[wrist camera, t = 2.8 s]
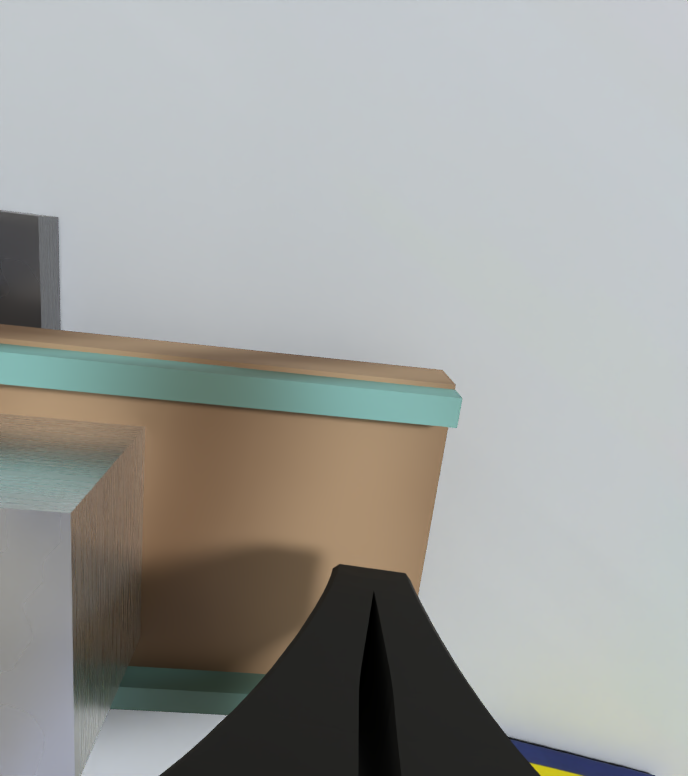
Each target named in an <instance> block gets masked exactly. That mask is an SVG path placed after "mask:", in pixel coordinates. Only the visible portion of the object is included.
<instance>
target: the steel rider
mask: <svg viewBox="0 0 688 776" xmlns="http://www.w3.org/2000/svg"><path fill="white" fill-rule="evenodd" d="M144 453H145V427H143V426H132V425H122V424H111V423H100V422H89V421H78V420H67V419H56V418H46V417H35V416H24V415H13V414H2V413H0V776H81V774H82V772H83V769H84V767H85V765H86V762H87V760H88V758H89V755H90V753H91V751H92V748H93V746H94V744H95V741H96V739H97V737H98V735H99V732H100V730H101V728H102V725H103V723H104V721H105V718H106V716H107V714H108V711H109V709H110V707H111V704H112V702H113V700H114V697H115V695H116V693H117V690H118V688H119V686H120V683H121V681H122V679H123V676H124V674H125V672H126V669H127V667H128V665H129V662H130V660H131V658H132V655H133V653H134V651H135V648H136V646H137V644H138V641H139V639H140V628H141V584H142V540H143V497H144Z"/></svg>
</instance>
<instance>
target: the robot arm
mask: <svg viewBox="0 0 688 776" xmlns="http://www.w3.org/2000/svg"><path fill="white" fill-rule="evenodd" d="M160 776H541V775H540V774H539V773H538V772H537V771H536V770H535V769H534V767H533V766H532V765H531V764H530V763H529V762H528V761H527V759H526V758H525V757H524V756H523V755H522V754H521V753H520V751H519V750H518V749H517V748H516V746H515V745H514V744H513V743H512V741H511V740H510V739H509V738H508V736H507V735H506V734H505V733H504V731H503V730H502V729H501V728H500V726H499V725H498V724H497V722H496V721H495V720H494V718H493V717H492V716H491V714H490V713H489V712H488V710H487V709H486V708H485V706H484V705H483V703H482V702H481V701H480V699H479V698H478V696H477V695H476V693H475V692H474V690H473V689H472V688H471V686H470V685H469V683H468V682H467V680H466V679H465V677H464V676H463V674H462V673H461V671H460V670H459V668H458V666H457V665H456V663H455V662H454V660H453V658H452V657H451V655H450V653H449V652H448V650H447V648H446V647H445V645H444V643H443V642H442V640H441V638H440V637H439V635H438V633H437V632H436V630H435V628H434V626H433V624H432V623H431V621H430V619H429V617H428V615H427V613H426V611H425V609H424V607H423V606H422V604H421V602H420V600H419V597H418V595H417V593H416V591H415V589H414V587H413V585H412V582H411V580H410V579H409V577H408V576H407V575H406V573H401V572H394V571H387V570H380V569H373V568H366V567H358V566H351V565H344V564H339V565H337V566H336V567H334V568H333V569H332V573H331V576H330V579H329V581H328V583H327V585H326V588H325V590H324V592H323V593H322V595H321V597H320V599H319V601H318V602H317V604H316V606H315V608H314V609H313V611H312V612H311V614H310V615H309V617H308V618H307V620H306V621H305V623H304V625H303V626H302V628H301V629H300V631H299V632H298V634H297V635H296V636H295V638H294V639H293V640H292V642H291V643H290V644H289V646H288V647H287V648H286V650H285V651H284V652H283V653H282V655H281V656H280V657H279V659H278V660H277V661H276V663H275V664H274V665H273V666H272V668H271V669H270V670H269V671H268V672H267V674H266V675H265V676H264V677H263V678H262V679H261V681H260V682H259V683H258V684H257V685H256V686H255V687H254V689H253V690H252V691H251V692H250V693H249V694H248V695H247V696H246V697H245V698H244V699H243V700H242V701H241V702H240V704H239V705H238V706H237V707H236V708H235V709H234V710H233V711H232V712H231V713H230V714H229V715H228V716H227V717H226V718H224V719H223V720H222V721H221V722H220V723H219V724H218V725H217V726H216V727H215V728H214V729H213V730H212V731H211V732H210V733H209V734H208V735H207V736H206V737H205V738H204V739H202V740H201V741H200V742H199V743H198V744H197V745H196V746H195V747H194V748H192V749H191V750H190V751H189V752H188V753H187V754H186V755H184V756H183V757H182V758H181V759H180V760H178V761H177V762H176V763H175V764H173V765H172V766H171V767H170V768H168V769H167V770H166V771H165V772H163V773H162V774H161V775H160Z"/></svg>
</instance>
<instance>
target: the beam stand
mask: <svg viewBox="0 0 688 776" xmlns="http://www.w3.org/2000/svg"><path fill="white" fill-rule="evenodd" d="M0 324H5V325H15V326H24V327H34V328H43V329H53V330H60V285H59V234H58V217H52V216H44V215H36V214H28V213H20V212H12V211H4V210H0Z"/></svg>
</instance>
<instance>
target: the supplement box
mask: <svg viewBox="0 0 688 776" xmlns="http://www.w3.org/2000/svg"><path fill="white" fill-rule="evenodd" d="M510 740H511V741H512V743H513V744H514V745H515V746H516V748H517V749H518V750H519V751H520V753H521V754H522V755H523V756H524V757H525V758H526V759H527V761H528V762H529V763H530V764H531V765H532V766H533V767H534V769H535V770H536V771H537V772H538V773H539V774H540V775H541V776H655V775H651V774H647V773H643V772H639V771H636V770H632V769H629V768H625V767H619V766H614V765H611V764H608V763H604V762H599V761H595V760H591V759H587V758H584V757H580V756H576V755H572V754H568V753H564V752H559V751H555V750H552V749H548V748H544V747H540V746H535V745H532V744H528V743H524V742H520V741H516V740H512V739H510Z"/></svg>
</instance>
